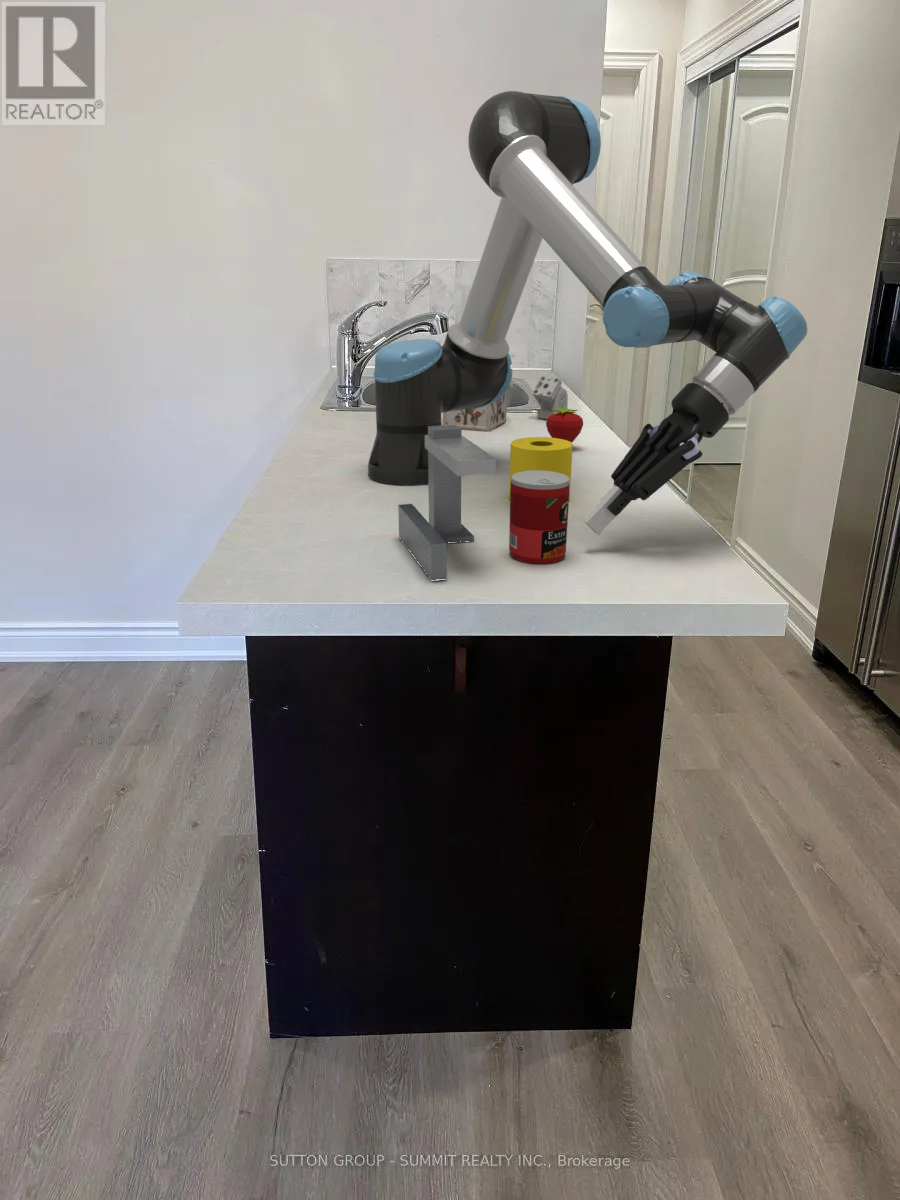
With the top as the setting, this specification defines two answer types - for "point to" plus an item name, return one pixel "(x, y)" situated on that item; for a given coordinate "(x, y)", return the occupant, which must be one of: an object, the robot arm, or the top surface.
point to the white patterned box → (479, 416)
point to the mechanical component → (550, 396)
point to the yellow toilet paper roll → (541, 456)
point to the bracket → (442, 498)
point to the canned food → (538, 516)
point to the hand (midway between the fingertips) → (590, 527)
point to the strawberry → (564, 424)
